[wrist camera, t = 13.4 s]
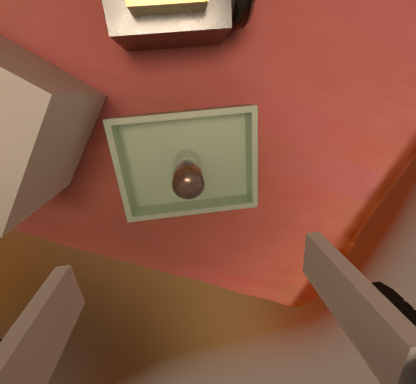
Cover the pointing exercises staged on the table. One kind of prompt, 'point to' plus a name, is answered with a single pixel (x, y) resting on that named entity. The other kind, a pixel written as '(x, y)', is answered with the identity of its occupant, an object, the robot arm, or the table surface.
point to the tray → (176, 142)
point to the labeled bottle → (187, 175)
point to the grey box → (39, 130)
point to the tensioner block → (173, 22)
